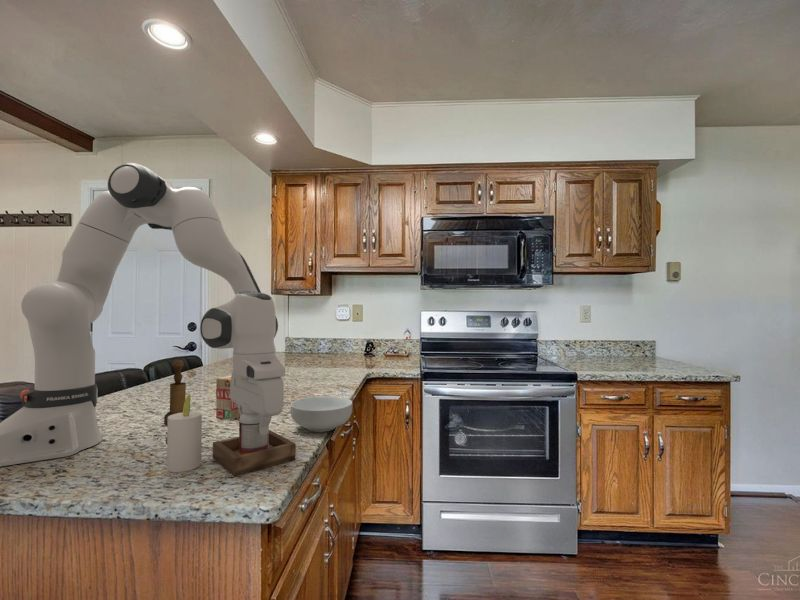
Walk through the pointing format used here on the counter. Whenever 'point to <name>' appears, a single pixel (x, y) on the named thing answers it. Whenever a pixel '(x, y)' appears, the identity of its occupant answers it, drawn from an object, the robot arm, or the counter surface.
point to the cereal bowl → (321, 412)
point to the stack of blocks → (225, 400)
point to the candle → (184, 439)
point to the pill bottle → (250, 432)
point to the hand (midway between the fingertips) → (253, 428)
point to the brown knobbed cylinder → (176, 391)
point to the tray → (253, 455)
